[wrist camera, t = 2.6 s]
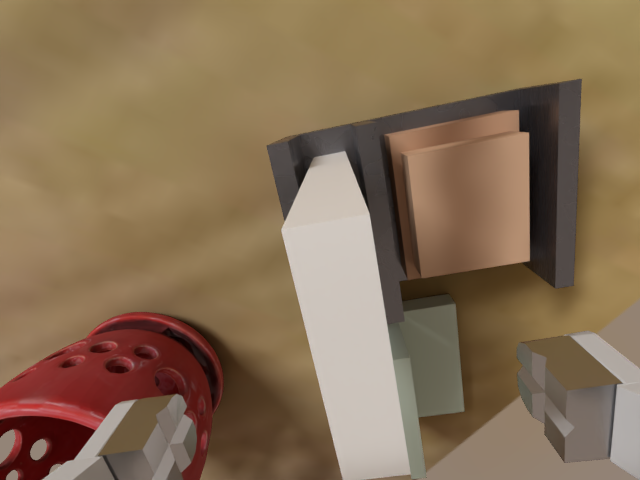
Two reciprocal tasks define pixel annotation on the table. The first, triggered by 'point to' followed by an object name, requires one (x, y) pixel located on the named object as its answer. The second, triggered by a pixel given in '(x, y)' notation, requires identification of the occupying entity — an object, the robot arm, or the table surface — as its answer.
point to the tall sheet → (346, 319)
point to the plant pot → (108, 389)
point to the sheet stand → (426, 368)
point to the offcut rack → (368, 136)
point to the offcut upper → (468, 203)
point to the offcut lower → (429, 138)
